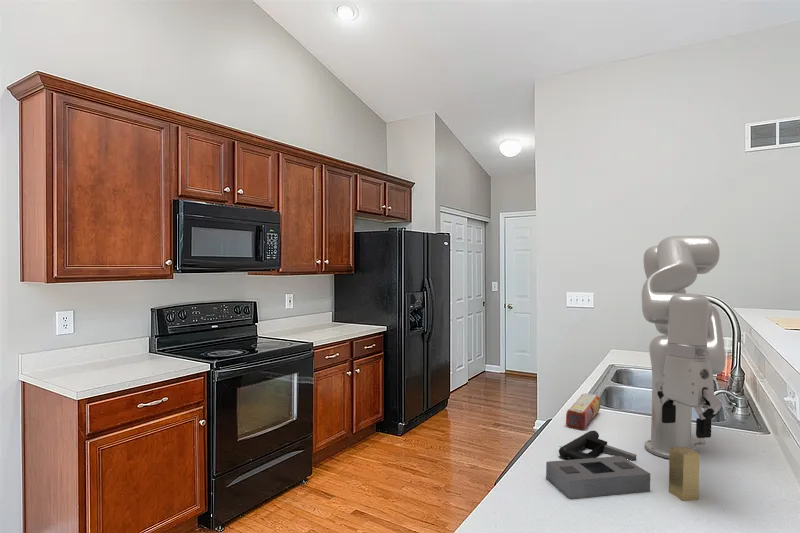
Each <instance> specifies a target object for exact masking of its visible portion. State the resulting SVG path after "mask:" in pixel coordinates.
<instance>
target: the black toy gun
mask: <svg viewBox="0 0 800 533" xmlns="http://www.w3.org/2000/svg"><path fill="white" fill-rule="evenodd" d="M599 436H600V435H599V432H598V431H596V430H589V431H587V432H585V433H584V434H582V435H581V436H578V437H577V438H575V439H573V440H571V441H570V442H568V443H566V444H565V445H562V446H558V447H559V449H558V455H559V456H560V458H562V459H567V460H575V459H587V458H598V456H600V455H602V454H604V453H605V454H608V455H611V456H613V455H614V456H622V457H624V458H626V459H628V460H629V461H630V462H633V461H634V462H636V460H637V454H636V453H632V452H629V451H626V450H623V449H620V448H617V447H614V446H612V445H608V441H606V440H603V439H600V437H599ZM584 449H587V450H590V451H589V452H585V451H584V452H583V451H582V450H584Z"/></svg>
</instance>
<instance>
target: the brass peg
mask: <svg viewBox="0 0 800 533" xmlns="http://www.w3.org/2000/svg"><path fill="white" fill-rule="evenodd" d="M697 452H698V451H697ZM697 452H695V451H693V450H691V449H689V448H687V447H673V448H670V458H669V459H668V460H669V464H668V465H669V466H668V493H669V494H671V495H673V496H674V497H676V498H677V499H679V500H680V501H682V502H684V501H695V500H699V490H700V489H699V484H700V453H699V452H698V453H697Z"/></svg>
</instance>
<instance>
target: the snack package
mask: <svg viewBox="0 0 800 533" xmlns="http://www.w3.org/2000/svg"><path fill="white" fill-rule="evenodd" d="M600 410H601V399H600V397H599V396H598V395H597V394H593V393H587V392H586V393H582V394H581V395H580V397H579V398H578V399H576V401H575V402H574V403H573V405H572V406H571V407H570V408H569V409H568V410H567V411H566V414H565V424H566V426H567V427H568V428H569V429H572V428H573V429H574V430H579V431H582V430H583V431H584V430H585V429H586V428H587V426H588V425H589V423H591V421H592V420H593V418H594V417H595V416H596V415H597V414H598V413H599V412H600ZM573 429H572V430H573Z"/></svg>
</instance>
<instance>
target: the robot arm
mask: <svg viewBox="0 0 800 533" xmlns="http://www.w3.org/2000/svg"><path fill="white" fill-rule="evenodd" d="M719 260H720V246H719V244H718V241H716V239H715V238H713V237H712V236H708V235H672V236H668V237H665V238H663V239H662V240H661V241H659V243H658V244H657V245H654V246H650V247H648V248H647V249H646V250H645V252H644V254H643V267H644V268H643V270H644V273H645V278H646V280H645V281H644V284H643V286H642V288H641V290H642V291H641V308H642V309H641V310H642V315H643V317H644V319H645V320H646V321H647V322H648V323H651V324H654V326H655V328H656V331H657V332H658V333H660V335H658V336H656V337H654V338H653V339H652V340H651V341H650V344H649V348H648V349H649V350H648V351H649V357H650V364H651V365H650V366H651V377H652V378H651V379H652V382H651V384H652V387H651V424H650V425H651V426H650V429H651V430H650V439H648V440H646V441H644V449H645V450H646V451H647V452H649V453H651V454H652V455H655V456H658V457H661V458H664V459H668V460H669V458H670V448H673V447H687V448H689V449H691V450H693V451H695V452H697V453H699V452H698V451H697V449H696V448H695V447H696V446H697V445H698V446H700V445H706V443H707V440H706V438H707V439H708V438H712V420H714V419H715V417H716V416H717V415H719V411H720V410H721V408H722V406H723V402H722V401H721V400H720V399H719V398H718V397H717V396H716V394H715V387H714V386H715V385H714V376H713V375H719V374H721V373H723V371H724V370H725V368H726V350H725V349H726V348H725V344H724V334H723V326H722V320H721V316H720V313H719V311H718V309H717V308H716V307H715V306H713V304H712V302H711V301H710V300H709V298H708V297H706V296H705V295H703V294H697V293H687V290H686V288H688V287H690V286H691V285H693V284H694V283H695V282H696V280H697V277H698V275H704V274H708V273H710V272H711V271H712V270H713V269H715V267H716V266H717V265H718V263H719ZM693 408H694V410H695V412H696V414H697V416H698V417H697V418H696V419H695V420H696V421H695V422H696V424H695V436H694V435H693V434H692V415H693Z"/></svg>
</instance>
